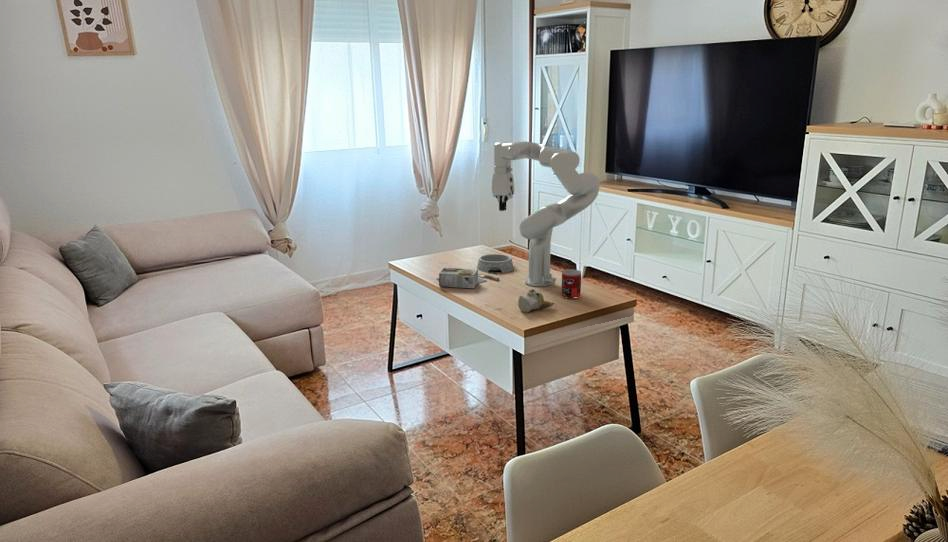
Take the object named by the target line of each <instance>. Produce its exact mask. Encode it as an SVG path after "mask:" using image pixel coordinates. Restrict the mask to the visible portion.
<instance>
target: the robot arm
mask: <svg viewBox="0 0 948 542" xmlns="http://www.w3.org/2000/svg"><path fill="white" fill-rule="evenodd" d="M523 159H527V160H528V159H529V160H533V161H538V162H539V165H540V166H542V167H545V168H551V170H552V172H553V173H554V175H555V177H556V178H557V179H558V181H559V182H560V183H561V185H562V186H563V188H564V189H565V191H567V193H568V195H567V196H565V198H563V199H561V200H559V201H558V202H555V203H552V204H548V205H545V206H543V207H541V208H540V209H538V210H536V211H535V212H533V213H531V214H529V215H528V216H527V217H525V218H523V220H522V221H521V222H520V224H519V233H520V235H521V236H522V237H523V238H524V239H527V240H529V245H528V277H526V278H525V280H524V281H525V284H526V285H528V286H531V287H538V288H539V287H548V286H551V285H553V284H555V283H556V281H557V278H556V277H553V274H552V273H551V245H552V244H551V243H552V242H551V241H552V236H553V228H556V227H559V226H561V225H562V224H565V222H567V221H568V220H570V219H571V218H574V217H575V216H576V215H578V214H579V213H581V212H582V211H584V210H585V209H587V208H588V207H590V205H592V204H593V203H594V201H595V200H596V199H597V197H598V195H599V193H600V181H599V178H598V175H596V174H595V173H593V172H589V171H587V172H581V173H579V172H578V171H577V170H576V169H577V168H578V166H579V165H580V161H581V160H580V156H579V154H578V153H577V152H575V151H573V150H570V149H563V148H559V147H554V146H547V145H544V144H541V143H537V142H532V141H527V140H526V141H518V142H517V141H516V142H508V141H498V142H495V143H494V145H493V166H494V167H493V170H494V171H493V173H492V180H491V193H492V197H494V198H496V199H497V202H498V211H499V212H503V211H504V212H505V211H506V210H507V202H508V201H509V200H510V199H513V198H514V196H513V195H515V181H514V179H515V178H514V174H513V173H512V172H513V168H512V161H517V160H523Z"/></svg>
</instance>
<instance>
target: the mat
mask: <svg viewBox="0 0 948 542" xmlns="http://www.w3.org/2000/svg"><path fill="white" fill-rule="evenodd" d="M436 280H437V281H439V277H438V278H436ZM484 282H487V280H486V279H485V278H480V277H478V283H477V285H479V284H481V283H484Z"/></svg>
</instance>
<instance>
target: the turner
mask: <svg viewBox="0 0 948 542" xmlns="http://www.w3.org/2000/svg"><path fill="white" fill-rule="evenodd" d="M478 278H480V279H488V280H492V281H496V282H498V281H500V277H499V276H494V275H490V274H486V273H484V272H483V273H482V272H479V271H478Z"/></svg>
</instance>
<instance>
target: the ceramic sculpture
mask: <svg viewBox="0 0 948 542" xmlns="http://www.w3.org/2000/svg"><path fill="white" fill-rule="evenodd" d="M517 301H518V302H517V306H518V308H519V310H520V311H521V312H522V313H530V311H532V310H533V311H534V310H535V311H536V310H539V309H549V308H550V307H553V306H554V305H555V302H550V301H547V300H544V295H543V294H542V293H541V292H539V291H537V290H535V289H531V290H528V291H527V293H526V294H525V295H519V297H518V300H517Z"/></svg>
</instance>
